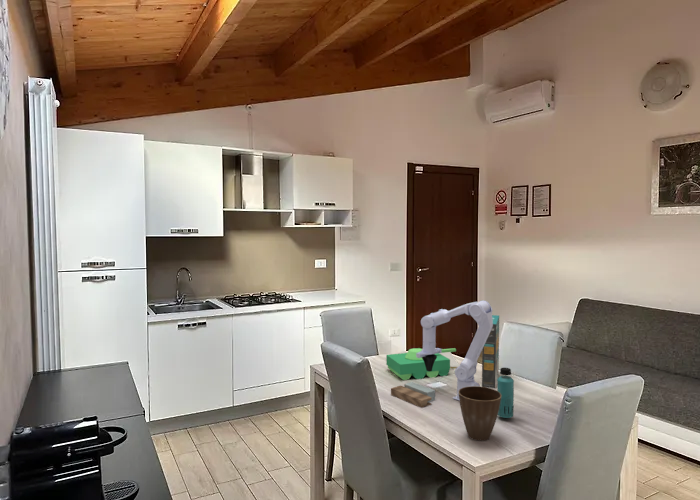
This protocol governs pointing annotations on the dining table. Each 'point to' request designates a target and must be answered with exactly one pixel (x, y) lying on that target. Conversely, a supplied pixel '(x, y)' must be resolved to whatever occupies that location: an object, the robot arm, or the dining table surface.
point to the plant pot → (479, 410)
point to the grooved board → (411, 396)
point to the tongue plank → (421, 389)
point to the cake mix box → (491, 356)
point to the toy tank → (417, 364)
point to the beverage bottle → (506, 393)
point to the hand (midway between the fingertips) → (429, 370)
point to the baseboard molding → (451, 359)
